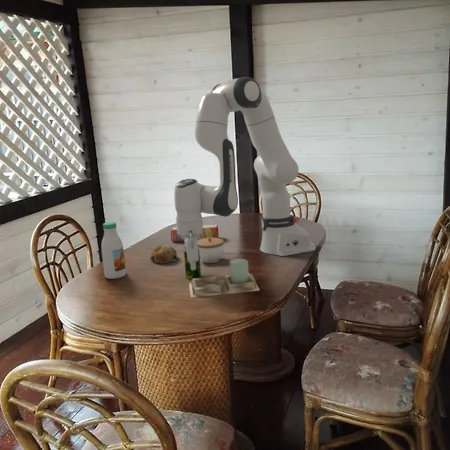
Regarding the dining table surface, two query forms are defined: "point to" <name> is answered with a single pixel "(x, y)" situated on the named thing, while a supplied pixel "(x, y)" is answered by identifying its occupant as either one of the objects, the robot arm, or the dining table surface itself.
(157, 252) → the bread roll
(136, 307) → the dining table surface
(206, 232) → the snack package
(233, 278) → the mint green domed part
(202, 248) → the lidded jar
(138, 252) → the dining table surface
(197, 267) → the beer can
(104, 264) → the milk bottle
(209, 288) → the caddy
